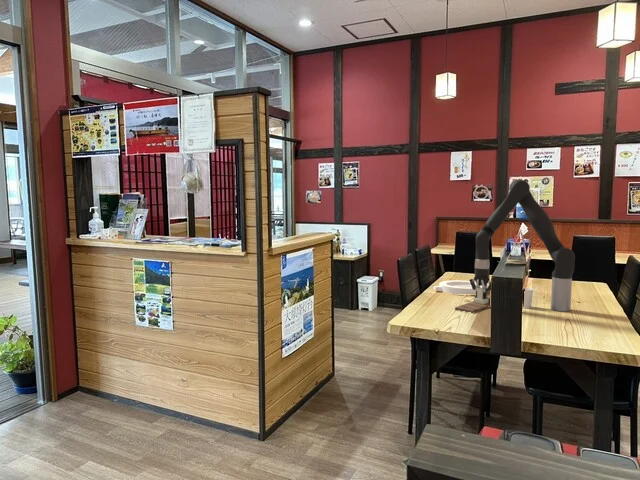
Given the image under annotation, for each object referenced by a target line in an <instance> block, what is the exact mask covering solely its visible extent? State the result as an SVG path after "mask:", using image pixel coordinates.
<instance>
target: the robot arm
mask: <svg viewBox="0 0 640 480" xmlns="http://www.w3.org/2000/svg"><path fill="white" fill-rule="evenodd" d="M518 204H519V205H520V207H521V208H522V210H523V212H524V214H525V216H526V219H527V221H528V222H529V224H530V225H531V226H532V227H531V228H532V229H533V230H534V231H535V233H536V234H537V236H538V237H539V239H540V241H542V243H543V244H544V246H545V248H546V250H547V252H548V254H549V256H550V257H551V259H552V261H553V262H554V264H555V265H554V270H553V271H552V273H551V297H550V310H553V311H557V312H570V311H571V307H572V306H571V304H572V288H573V287H572V286H573V285H572V284H573V281H572V280H573V274H574V272H575V263H576V262H575V261H576V255H575V253H574V251H573V250H572V249H571V248H568V247H566V246H564V244H563V243H562V242H561V240H560V239H559V237H558V235H557V233H556V229H555V227H554V224H553V222H552V220H551V218H550V217H549V215H548V213H547V212H546V211H545V210H544V209H543V207H542V206H541V205H540V204H539V203H538V201H536V199H535V198H534V196H533V195H532V193H531V186H530V184H529V183H528V181H526V180H523V179H518V178H517V179H515V180H513V181H512V182H511V183H510V184H509V192H508V194H507V196H506V197H505V198H504V200H503V201H502V203H500V205H498V207H497V208H496V209H495V210H494V211H493V212H492V213H491V215H490V216H489V217H488V219H487V220H486V222H485V224H484V225H483V227H481V229H480V230H479V232H477V234H476V235H475V259H474V277H473V278H470V279H469V280H468V281H470V283H471V286H472V289H473V290H476V295H475V296H476V297H477V288H480V286H482V288H483V299H486V298H487V297H488V292H491V290H492V289H491V281H492V280H491V279H490V249H489V248H490V240H491V238H492V237H493V235H494V234H495V233H496V231H497V230H498V229H499V228H500V227H501V226H502V224H503V223H504V221H505V220H506V219H507V218H508V216H509V215H510V213H511V212H512V211H513V209H514V208H515V207H516V206H517V205H518ZM475 282H476V285H475ZM487 285H489V286H488V288H487Z"/></svg>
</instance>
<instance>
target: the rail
mask: <svg viewBox="0 0 640 480" xmlns="http://www.w3.org/2000/svg"><path fill="white" fill-rule="evenodd" d="M475 298H477V297H476V295H475V296H474V299H475ZM490 298H491V297H488V296H487V298H486V299H489V300H488V303H486V304H480V303H474V300H473V301H469V302H467V303H463V304H460V305H458V306H455V307H454V310H455V311H458V310H460V311H459V312H463V311H465V312H464V313H468V312H471V313H470V314H475V313H477V312H476V311H478V312H480V311H482V310H481V309H483V308H486V307H488V306H490ZM488 308H489V307H488ZM486 309H487V308H486ZM479 310H480V311H479ZM483 310H484V309H483ZM474 312H475V313H474Z"/></svg>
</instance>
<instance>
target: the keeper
mask: <svg viewBox="0 0 640 480" xmlns="http://www.w3.org/2000/svg"><path fill="white" fill-rule="evenodd" d="M488 300H489V299H483V288H481V287H480V288H477V298H475V297H474V298H473V301H474V303H480V304H486V303H488Z"/></svg>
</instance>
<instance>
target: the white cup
mask: <svg viewBox="0 0 640 480" xmlns="http://www.w3.org/2000/svg"><path fill="white" fill-rule="evenodd" d="M524 288H525V291H524V308H523V309H531V308H532V301H533V293H534V289H533V288H531V287H524Z"/></svg>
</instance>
